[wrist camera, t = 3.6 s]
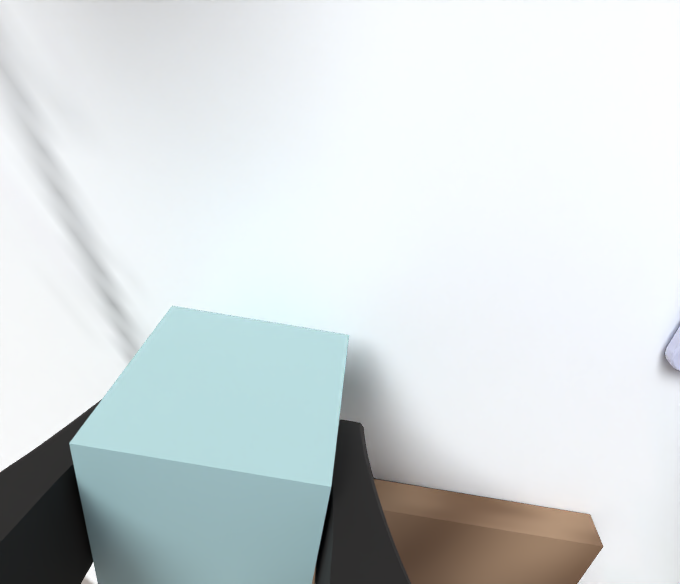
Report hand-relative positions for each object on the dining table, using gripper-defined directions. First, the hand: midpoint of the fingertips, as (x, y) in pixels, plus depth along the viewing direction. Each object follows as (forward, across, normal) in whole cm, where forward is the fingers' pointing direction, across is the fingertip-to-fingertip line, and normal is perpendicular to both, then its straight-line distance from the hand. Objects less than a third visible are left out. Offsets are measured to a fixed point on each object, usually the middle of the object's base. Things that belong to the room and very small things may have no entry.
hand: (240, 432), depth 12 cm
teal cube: (+2, 0, 0) cm, 2 cm away
